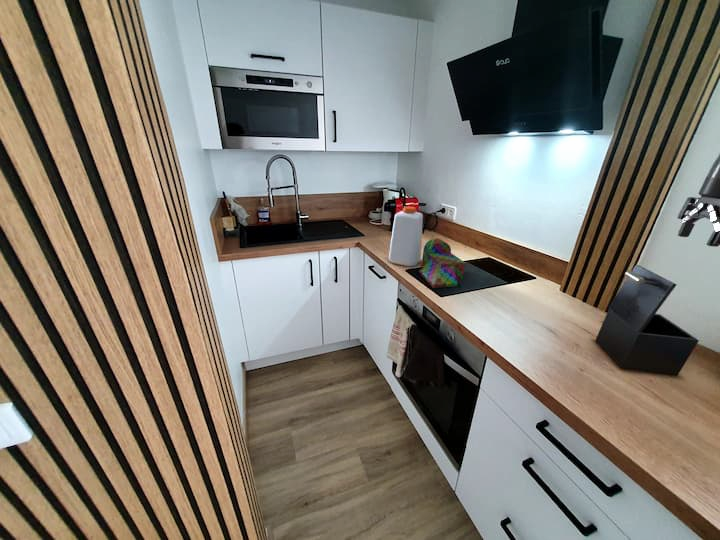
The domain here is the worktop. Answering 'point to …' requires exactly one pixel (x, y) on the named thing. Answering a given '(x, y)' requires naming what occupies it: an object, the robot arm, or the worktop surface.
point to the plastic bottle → (406, 237)
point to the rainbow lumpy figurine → (441, 264)
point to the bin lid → (641, 297)
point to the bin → (646, 345)
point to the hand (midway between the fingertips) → (696, 241)
